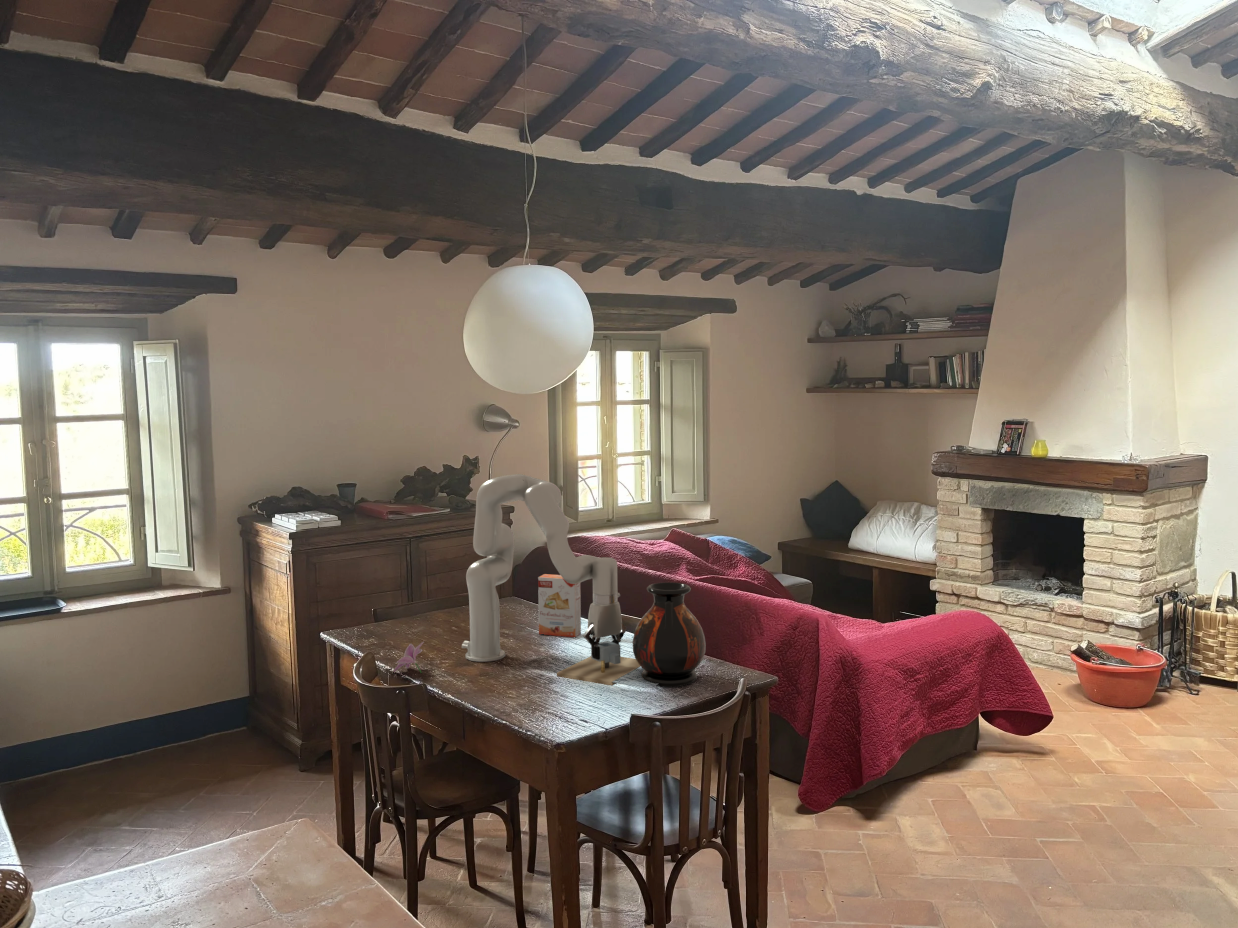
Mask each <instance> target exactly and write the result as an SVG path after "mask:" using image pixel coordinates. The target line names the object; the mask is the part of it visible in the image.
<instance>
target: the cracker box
mask: <svg viewBox="0 0 1238 928" xmlns="http://www.w3.org/2000/svg"><path fill="white" fill-rule="evenodd" d="M537 579H538V580H537V582H538V583H537V584H538V593H537V595H538V598H537V599H538V635H541V634H544V635H545V636H555V637H563V638H564V637H566V638H574V637H575V638H576V637H578V636H579V635H581V633H582V627H581V626H582V624H581V623H582V621H581V619H582V617H581V616H582V614H581V613H582V612H581V609H582V607H581V605H582V603H581V602H582V601H581V600H582V599H581V595H582V592H581V588H582V587H581V582H580V583H578V584H570V583H568V582H567V581H565V580H564V579H563V578H562V576H561V575H560V574H553V573H552V574H547V573H544V574H542V575H540V576H538V577H537Z"/></svg>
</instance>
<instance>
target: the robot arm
mask: <svg viewBox="0 0 1238 928" xmlns="http://www.w3.org/2000/svg"><path fill="white" fill-rule="evenodd" d="M476 493H477V494H476V499H475V500H476V504H475V517H474V527H473V539H472V544H473V545H472V547H473V550H474V552H475V553H476V554H477V555H479V556H482V557H484V558H483V559H478V560H477V561H474V562H473V563H472V564H470V565H469V567H468V569H467V570H466V574H465V579H466V580H465V581H466V585H467V586H466V587H467V591H468V600H469V601H468V603H469V604H468V605H469V606H468V607H469V608H468V609H469V610H468V611H469V640H464V641H463V642H462V644H461V648H462V649H467V652H465V659H467V660H468V661H471V662H477V663H478V662H479V663H484V662H485V663H486V662H487V663H488V662H494V661H498V660H502V659H503V658H504V657H506V652H505V651H504V650H503V649H501V632H500V631H501V628H500V627H501V626H500V625H501V624H500V620H501V619H500V599H499V594H498V591H497V587H496V586H498V585H502V584H503V583H505V582H507V581H508V580H509V579H510V576H511V575H512V570H513V563H514V553H515V552H514V551H515V534H514V532H513V530H512V528H511V527H510V526H509V525H507V524H505V523H503V510H502V507H501V506H502V505H503V504H505V503H507V504H508V503H512V502H518V501H522V502H524V504H525V506H526V507H527V509H528V511H529V512H530V514H531V515H532V517H533V518H534V520H535V522H536V523H537V525H538V526H539V528H540V529H541V532H542V533H543V535H544V536H545V539H546V547H547V550H548V554H549V557H550V560H551V562H552V565H554V567H555V569H556V571H557V572H558V575H561V576H562V578H563V579H564V580H565V581H567V582H568V583H570V584H578V583H580V584H581V583H582V582H585V581H587V580H591V579H592V603H590V605H589V609H588V615H587V617H588V618H587V629H586V631H584V633H583V635H582V637H583V638H584V639H585V640H586V642H587V643H589V644H590V646H591V645H592V657H593V658H594V659H597V660H599V659H600V647H599V646H598V645H599V642H601V639H602V638H606V637H611V639H612V640H610V642H613V643H616V644H619V645H620V643H621V641H622V639H623V637H624V636H625V634H626V632H627V630H628V627H627V626H626V624H624V623H623V620H622V612H621V611H622V610H621V605H620V602H619V601H618V598H620V597H621V594H620V592H618V561H617V560H616V559H615V558H612V557H599V556H598V557H597V556H594V555H590V554H582V555H579V556H576V555H575V553H574V552H573V551H572V549H571V547H570V545H569V542H568V541H569V540H568V533H569V528H570V521H569V519H568V518H567V516H566V514H565V513H564V511H563V510H562V508H561V507H560V506H559V504H560V503H561V501H562V492H561V490H560V488H559V487H558V486H557V485H556V484H555V483H553V482H551V481H547V480H543V479H540V478H536V477H532V476H531V475H530V476H529V475H525V474H521V473H520V474H519V473H516V474H509V475H507V474H506V475H501V476H497V477H493V478H490V479H488V480H487V481H485V482H483V483H482V484H481V485H480V487H479V488H478V490H477V492H476ZM485 557H486V558H485Z"/></svg>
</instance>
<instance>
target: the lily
mask: <svg viewBox="0 0 1238 928" xmlns="http://www.w3.org/2000/svg"><path fill="white" fill-rule="evenodd" d="M424 643H425V641H422V642H421V643H419V644H418V645H416V647H415V646H414V644H412V642H411V643H409V644H408V645H407V647H406V648H405V651H404V654H403V656H402V657H401V658H400V659H397V661H396V664H397V665H396V666H395V668H394V669H393V670H392V674H394V673H395V672H397V670H399V669H400V668H402V667H403V666H405V668H406V669H410V666H411V664H415V666H416V667H417V669H418V670H419V672H420V674H421V673H422V674H423V672H422V670H421V668H420V666H419V665H418V664H417V662H416V659H417V656H418V654H420V653H421V652H423V649H421V647H422V645H423V644H424ZM393 672H394V673H393Z"/></svg>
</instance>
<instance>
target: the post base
mask: <svg viewBox="0 0 1238 928" xmlns="http://www.w3.org/2000/svg"><path fill="white" fill-rule="evenodd" d="M638 668H641V666H640V665H639V664H638V662H637V661H636V659H635V658H633V657H625V656H620V663H619V664H613V663H611V662H607V663H605V673H601V662H599V661H596V660H594V659H591V655H590V656H587V658H585V659H582V660H581V661H579V662H576V663H574V664H572V665H570V666H568V667H566V668H564V669H561V670H560V671H557V672H556V677H557V678H562V679H563V678H564V679H569V680H574V681H580V682H587V683H592V684H597V685H599V684H600V685H603V686H605V685H606V686H611V687H613V686H615V685H616V684H617V682H615V681H617V680H618V679H620V678H622V677H624V676H626V675H628V674H629V673H631V672H633V671H634V670H636V669H638Z"/></svg>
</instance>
